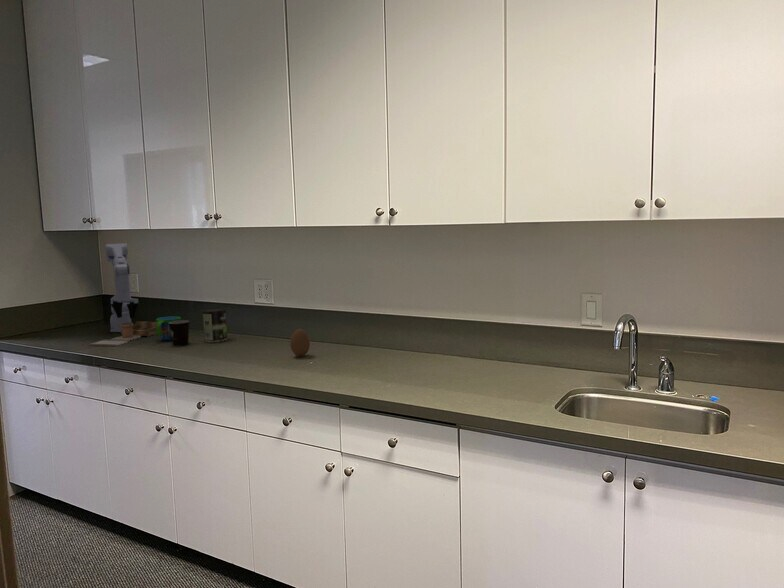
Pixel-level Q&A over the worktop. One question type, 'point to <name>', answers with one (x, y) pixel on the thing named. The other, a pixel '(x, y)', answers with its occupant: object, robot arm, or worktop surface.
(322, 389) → the worktop surface
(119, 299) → the robot arm
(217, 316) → the coffee can
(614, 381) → the worktop surface
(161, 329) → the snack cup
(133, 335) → the stone tile
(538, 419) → the worktop surface
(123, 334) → the clay pot
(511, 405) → the worktop surface
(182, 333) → the coffee mug
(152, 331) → the cold frame
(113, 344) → the frame lid
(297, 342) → the egg
